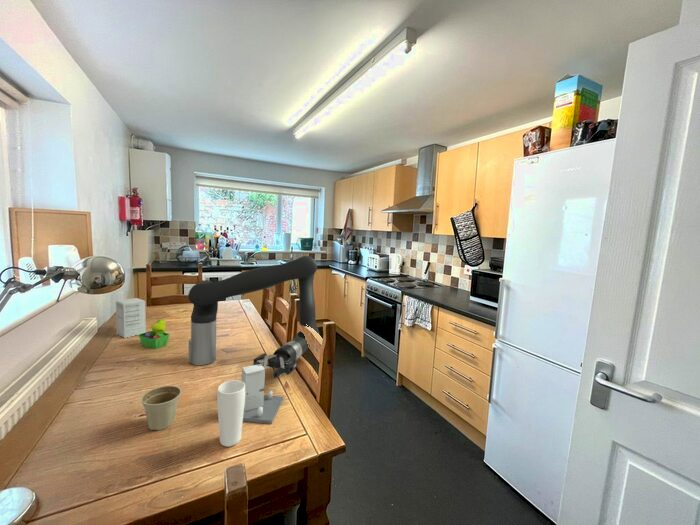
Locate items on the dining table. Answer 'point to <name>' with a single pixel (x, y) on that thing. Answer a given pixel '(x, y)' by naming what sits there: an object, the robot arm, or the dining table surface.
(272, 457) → the dining table surface
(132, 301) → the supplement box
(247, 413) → the pin tray
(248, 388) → the skincare box
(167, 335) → the fruit basket
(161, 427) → the flower pot
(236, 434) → the drinking glass
